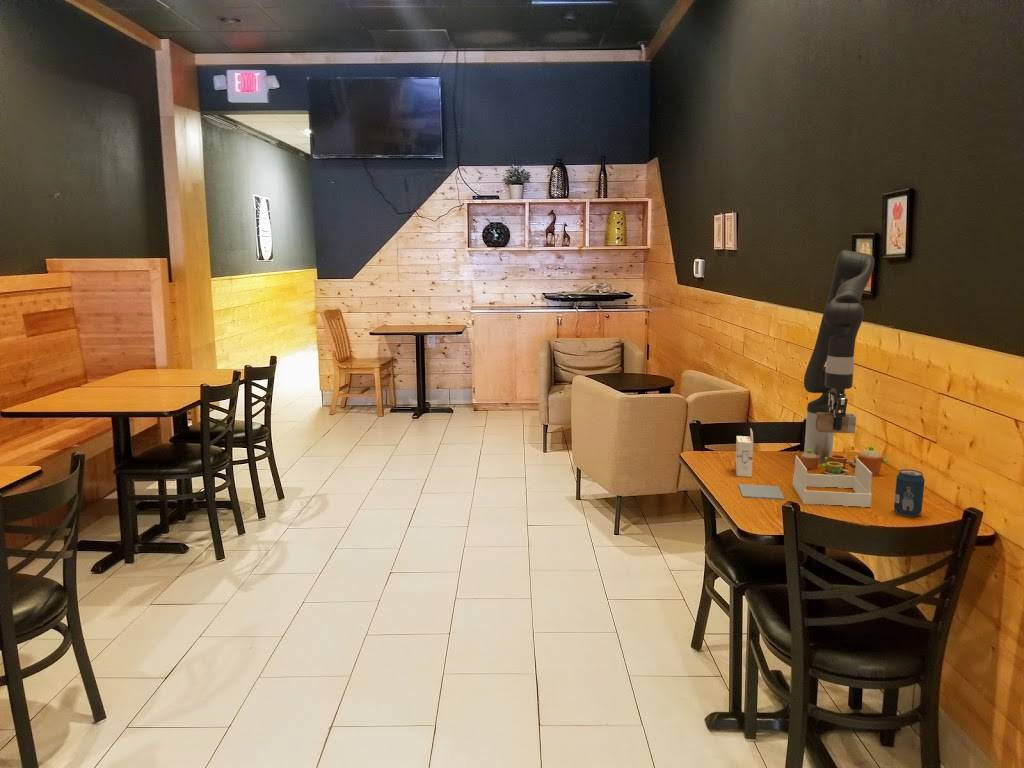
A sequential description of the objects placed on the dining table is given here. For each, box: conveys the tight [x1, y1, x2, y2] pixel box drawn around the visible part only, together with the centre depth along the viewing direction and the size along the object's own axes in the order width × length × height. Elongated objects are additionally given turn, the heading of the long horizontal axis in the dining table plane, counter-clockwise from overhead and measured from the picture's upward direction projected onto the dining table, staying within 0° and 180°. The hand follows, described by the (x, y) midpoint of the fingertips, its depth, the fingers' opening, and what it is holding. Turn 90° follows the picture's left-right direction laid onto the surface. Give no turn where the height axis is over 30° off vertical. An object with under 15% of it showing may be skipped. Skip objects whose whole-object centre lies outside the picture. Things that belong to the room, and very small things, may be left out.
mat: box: [737, 483, 786, 500], centre depth 230 cm, size 12×12×1 cm
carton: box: [792, 454, 873, 509], centre depth 226 cm, size 18×18×10 cm
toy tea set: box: [800, 445, 889, 477], centre depth 252 cm, size 26×16×10 cm, turn 92°
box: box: [815, 412, 857, 434], centre depth 223 cm, size 5×10×5 cm, turn 80°
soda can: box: [893, 468, 926, 517], centre depth 211 cm, size 7×7×12 cm
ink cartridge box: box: [734, 427, 754, 478], centre depth 249 cm, size 9×5×15 cm, turn 168°
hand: (835, 427), depth 223 cm, fingers closed on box, 4 cm apart
